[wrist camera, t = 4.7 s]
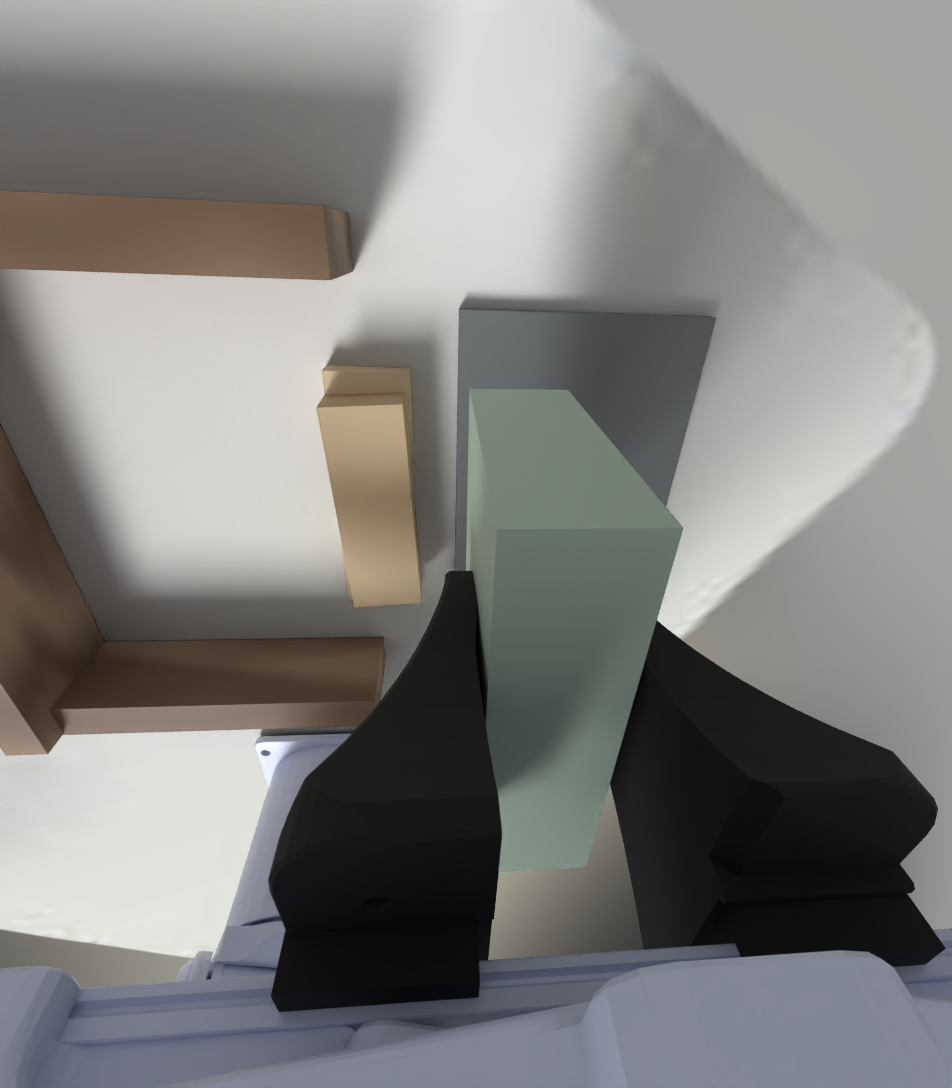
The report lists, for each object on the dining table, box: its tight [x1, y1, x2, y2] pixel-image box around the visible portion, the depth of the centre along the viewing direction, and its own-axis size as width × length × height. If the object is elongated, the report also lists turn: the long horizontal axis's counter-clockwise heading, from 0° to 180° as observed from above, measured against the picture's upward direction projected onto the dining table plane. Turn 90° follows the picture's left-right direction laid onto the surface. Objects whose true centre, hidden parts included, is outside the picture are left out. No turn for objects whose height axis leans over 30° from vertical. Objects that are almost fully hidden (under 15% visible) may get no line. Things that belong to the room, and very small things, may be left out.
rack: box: [0, 190, 385, 755], centre depth 18 cm, size 19×15×5 cm
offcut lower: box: [322, 365, 413, 600], centre depth 20 cm, size 10×3×2 cm, turn 177°
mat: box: [455, 308, 716, 571], centre depth 20 cm, size 11×9×1 cm
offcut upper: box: [317, 392, 422, 608], centre depth 19 cm, size 8×3×2 cm, turn 1°
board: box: [466, 389, 683, 872], centre depth 12 cm, size 9×2×7 cm, turn 178°
